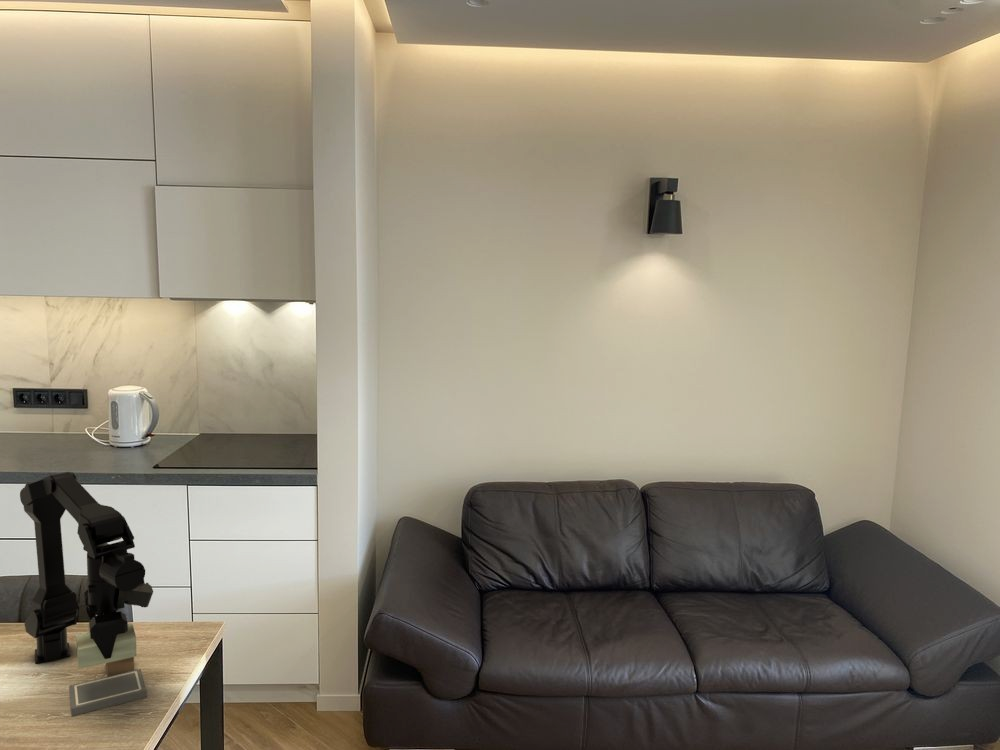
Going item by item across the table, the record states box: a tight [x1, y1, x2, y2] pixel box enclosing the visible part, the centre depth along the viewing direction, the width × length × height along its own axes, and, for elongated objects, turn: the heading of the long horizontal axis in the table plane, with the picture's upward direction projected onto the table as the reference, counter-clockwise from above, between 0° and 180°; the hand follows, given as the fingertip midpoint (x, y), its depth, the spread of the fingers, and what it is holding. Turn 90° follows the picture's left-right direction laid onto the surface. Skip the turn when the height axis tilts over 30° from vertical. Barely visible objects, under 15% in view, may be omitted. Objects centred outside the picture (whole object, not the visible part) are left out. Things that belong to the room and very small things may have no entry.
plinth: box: [68, 668, 148, 717], centre depth 143 cm, size 9×13×2 cm
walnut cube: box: [105, 657, 135, 677], centre depth 153 cm, size 5×5×5 cm
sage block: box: [75, 623, 138, 670], centre depth 142 cm, size 6×10×4 cm, turn 123°
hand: (106, 650), depth 142 cm, fingers closed on sage block, 6 cm apart
